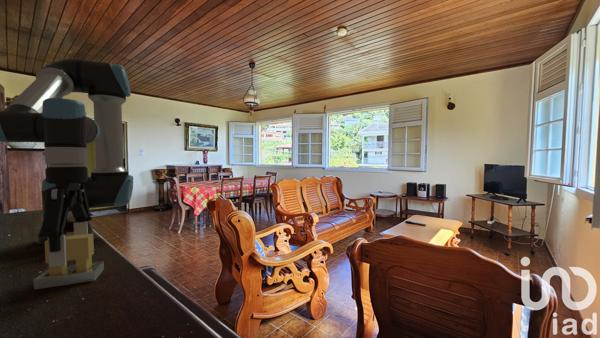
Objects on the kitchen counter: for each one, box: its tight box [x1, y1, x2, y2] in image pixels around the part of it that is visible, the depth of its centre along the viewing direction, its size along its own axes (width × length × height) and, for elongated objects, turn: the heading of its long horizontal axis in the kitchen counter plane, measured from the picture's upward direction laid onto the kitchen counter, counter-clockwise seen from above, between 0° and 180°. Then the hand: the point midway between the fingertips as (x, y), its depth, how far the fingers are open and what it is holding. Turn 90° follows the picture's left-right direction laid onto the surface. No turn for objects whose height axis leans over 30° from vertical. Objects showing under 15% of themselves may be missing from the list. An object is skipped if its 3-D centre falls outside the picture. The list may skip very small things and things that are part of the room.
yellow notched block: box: [44, 233, 95, 276], centre depth 63 cm, size 4×8×10 cm, turn 112°
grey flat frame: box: [33, 260, 105, 290], centre depth 64 cm, size 7×11×2 cm, turn 112°
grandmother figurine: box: [63, 211, 76, 236], centre depth 83 cm, size 8×4×13 cm, turn 168°
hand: (70, 255), depth 63 cm, fingers open, 12 cm apart
